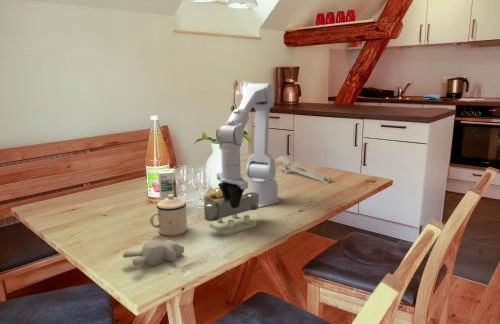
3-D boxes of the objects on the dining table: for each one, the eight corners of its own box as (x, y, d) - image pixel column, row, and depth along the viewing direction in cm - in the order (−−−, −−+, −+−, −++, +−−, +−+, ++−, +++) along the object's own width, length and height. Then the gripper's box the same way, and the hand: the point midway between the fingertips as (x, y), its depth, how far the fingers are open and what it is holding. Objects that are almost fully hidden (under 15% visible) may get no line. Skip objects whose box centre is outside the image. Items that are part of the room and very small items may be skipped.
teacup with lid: (178, 222, 132) (176, 188, 129) (193, 230, 125) (191, 195, 122) (144, 232, 124) (141, 196, 122) (158, 241, 118) (155, 204, 115)
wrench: (327, 189, 174) (275, 170, 194) (329, 188, 175) (278, 169, 195) (329, 172, 171) (277, 154, 191) (332, 171, 173) (279, 154, 192)
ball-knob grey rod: (253, 204, 134) (253, 191, 133) (261, 208, 131) (261, 194, 130) (202, 218, 123) (201, 203, 122) (209, 222, 119) (208, 207, 118)
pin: (221, 202, 150) (220, 187, 149) (224, 204, 148) (223, 189, 147) (215, 203, 149) (213, 188, 148) (217, 205, 147) (216, 190, 146)
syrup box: (161, 212, 141) (158, 173, 138) (160, 207, 147) (157, 169, 143) (177, 210, 143) (175, 171, 139) (176, 205, 148) (173, 167, 145)
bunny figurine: (190, 244, 106) (136, 256, 96) (189, 263, 107) (136, 276, 97) (171, 234, 113) (120, 243, 103) (171, 251, 114) (120, 262, 104)
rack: (240, 217, 135) (239, 207, 134) (256, 225, 128) (256, 215, 127) (209, 226, 128) (209, 215, 127) (225, 235, 121) (224, 224, 120)
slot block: (222, 199, 154) (222, 191, 154) (234, 204, 148) (233, 196, 148) (204, 203, 150) (204, 195, 149) (215, 209, 144) (215, 201, 143)
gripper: (207, 161, 127) (209, 202, 130) (233, 170, 115) (234, 214, 118) (226, 158, 131) (227, 198, 134) (253, 166, 119) (253, 209, 122)
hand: (232, 205), depth 126 cm, fingers closed on ball-knob grey rod, 3 cm apart
